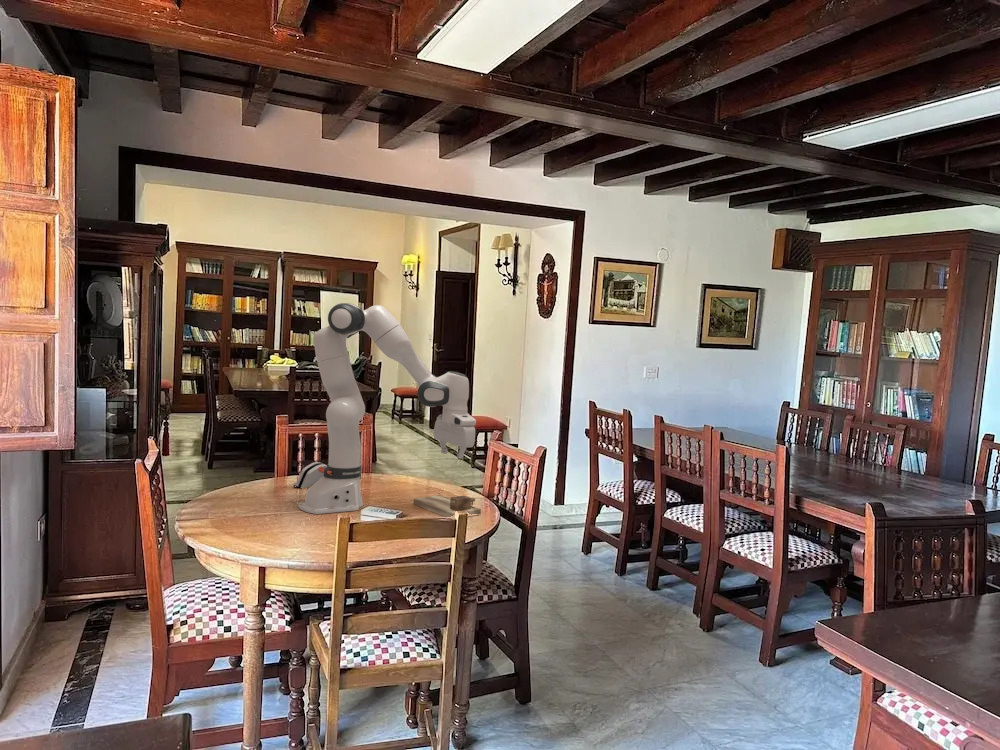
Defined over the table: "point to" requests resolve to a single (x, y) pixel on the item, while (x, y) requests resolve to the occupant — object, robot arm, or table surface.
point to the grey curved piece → (310, 475)
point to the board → (440, 505)
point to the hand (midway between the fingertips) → (452, 455)
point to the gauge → (461, 503)
